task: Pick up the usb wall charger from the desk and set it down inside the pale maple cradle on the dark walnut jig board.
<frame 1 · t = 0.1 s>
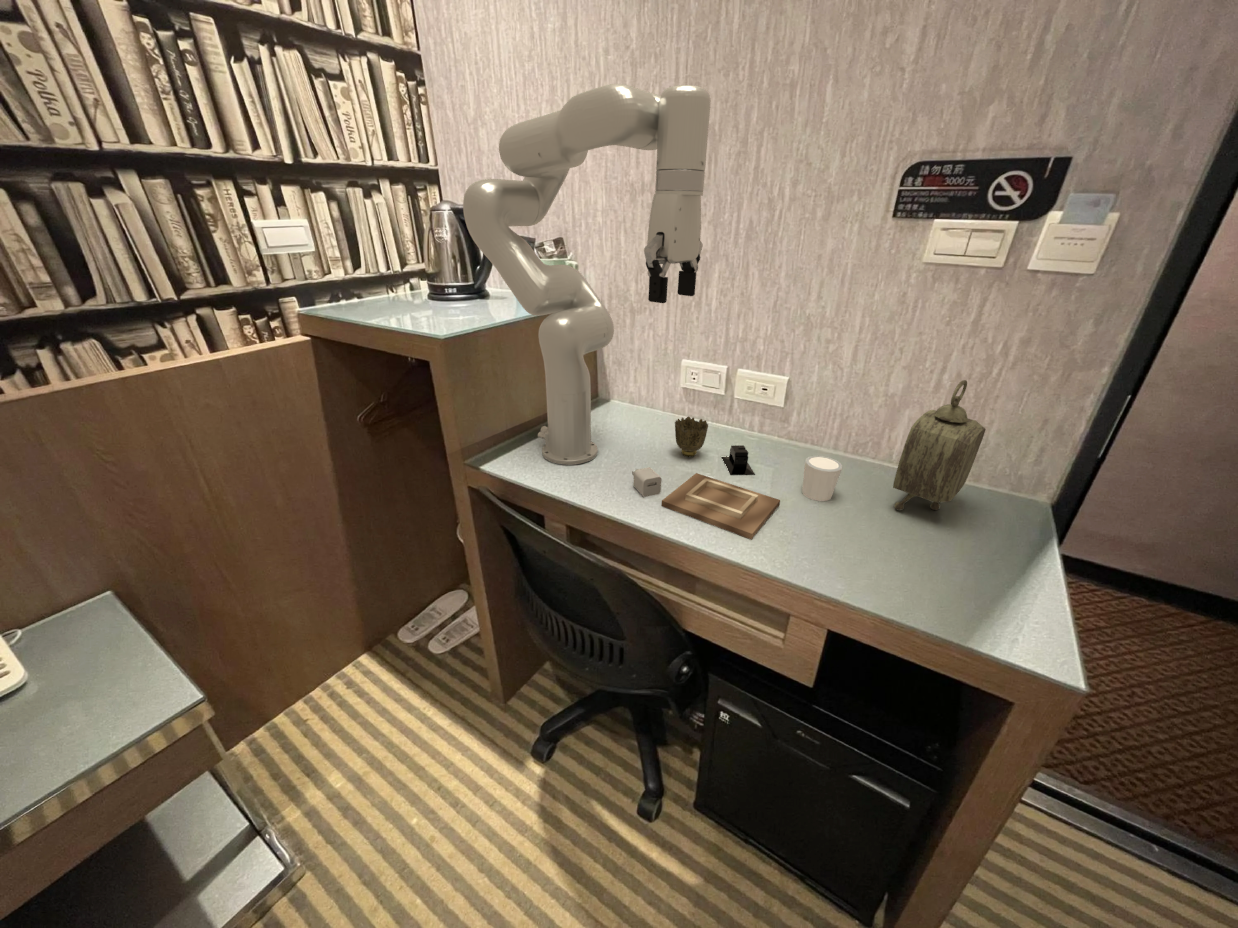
hand: (672, 298, 87), 37 cm above the table, tool pointing down, fingers open, 9 cm apart
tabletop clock: (922, 506, 98), on the table
beige short cylinder: (816, 494, 102), on the table
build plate: (736, 468, 112), on the table
cup: (688, 455, 116), on the table
usb wall charger: (643, 488, 102), on the table
jig board: (720, 505, 97), on the table
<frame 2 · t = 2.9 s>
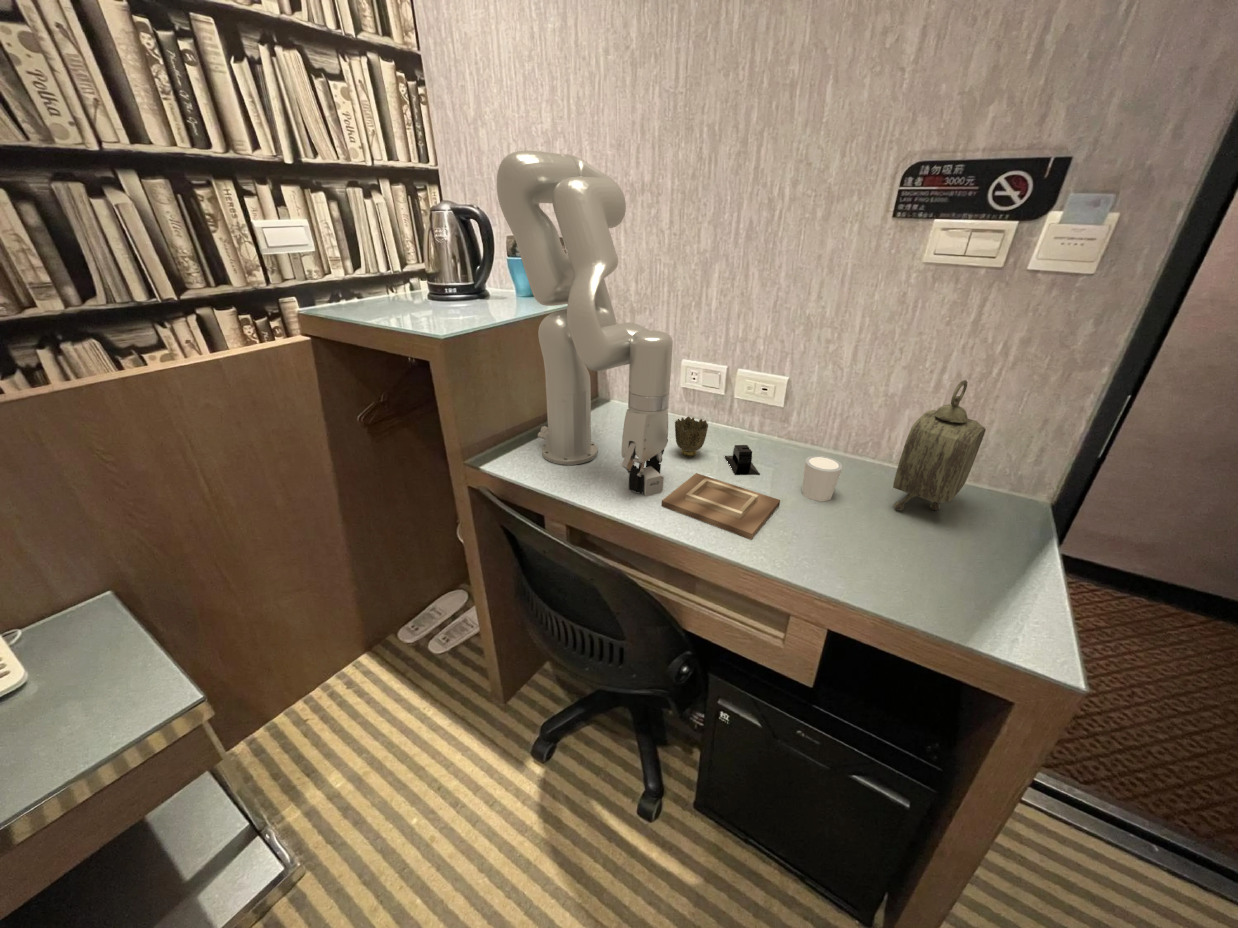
hand: (644, 484, 102), 1 cm above the table, tool pointing down, fingers closed on usb wall charger, 5 cm apart
usb wall charger: (645, 487, 103), on the table, touching gripper
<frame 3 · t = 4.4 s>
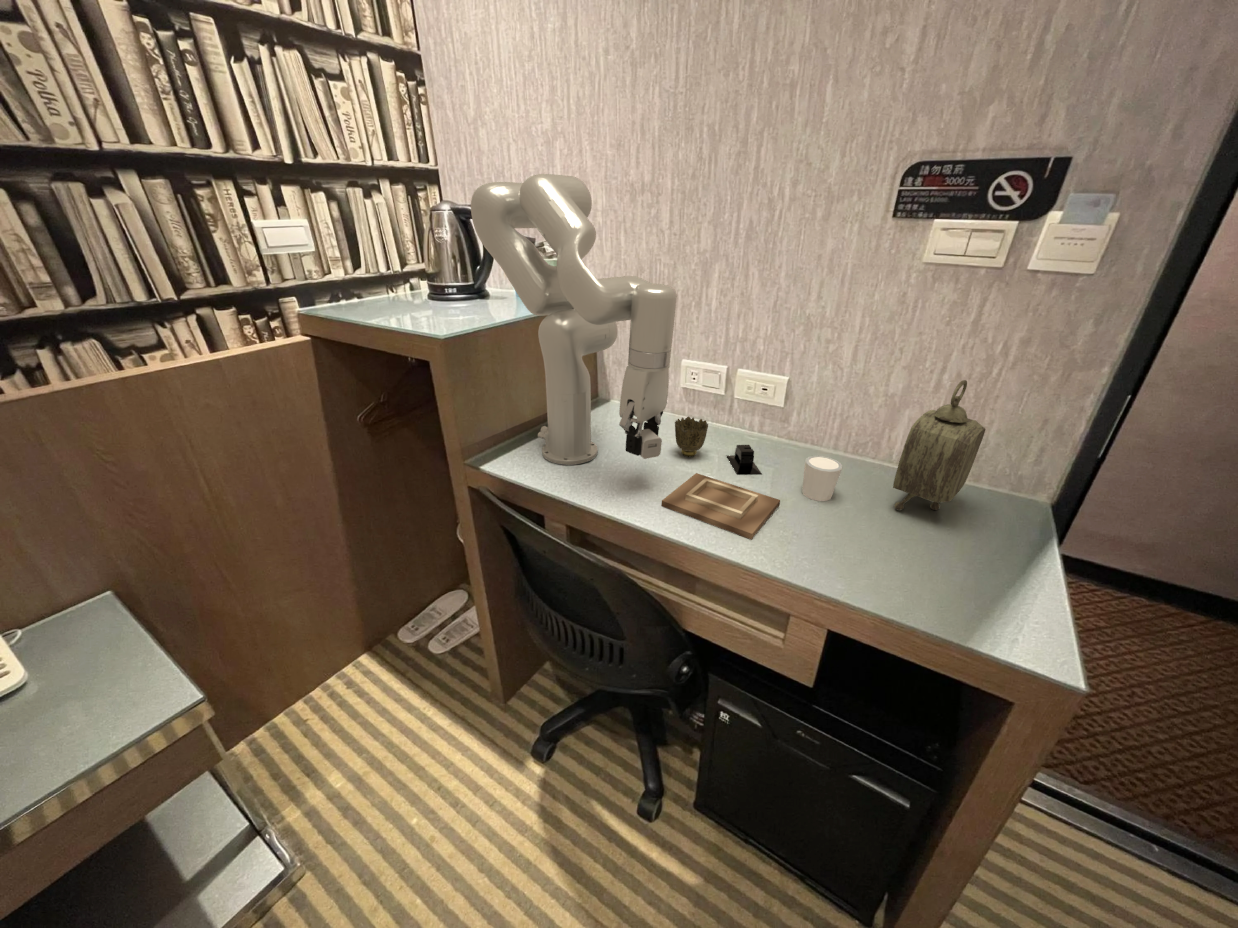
hand: (641, 447, 99), 9 cm above the table, tool pointing down, fingers closed on usb wall charger, 5 cm apart
usb wall charger: (642, 450, 100), point 8 cm above the table, touching gripper
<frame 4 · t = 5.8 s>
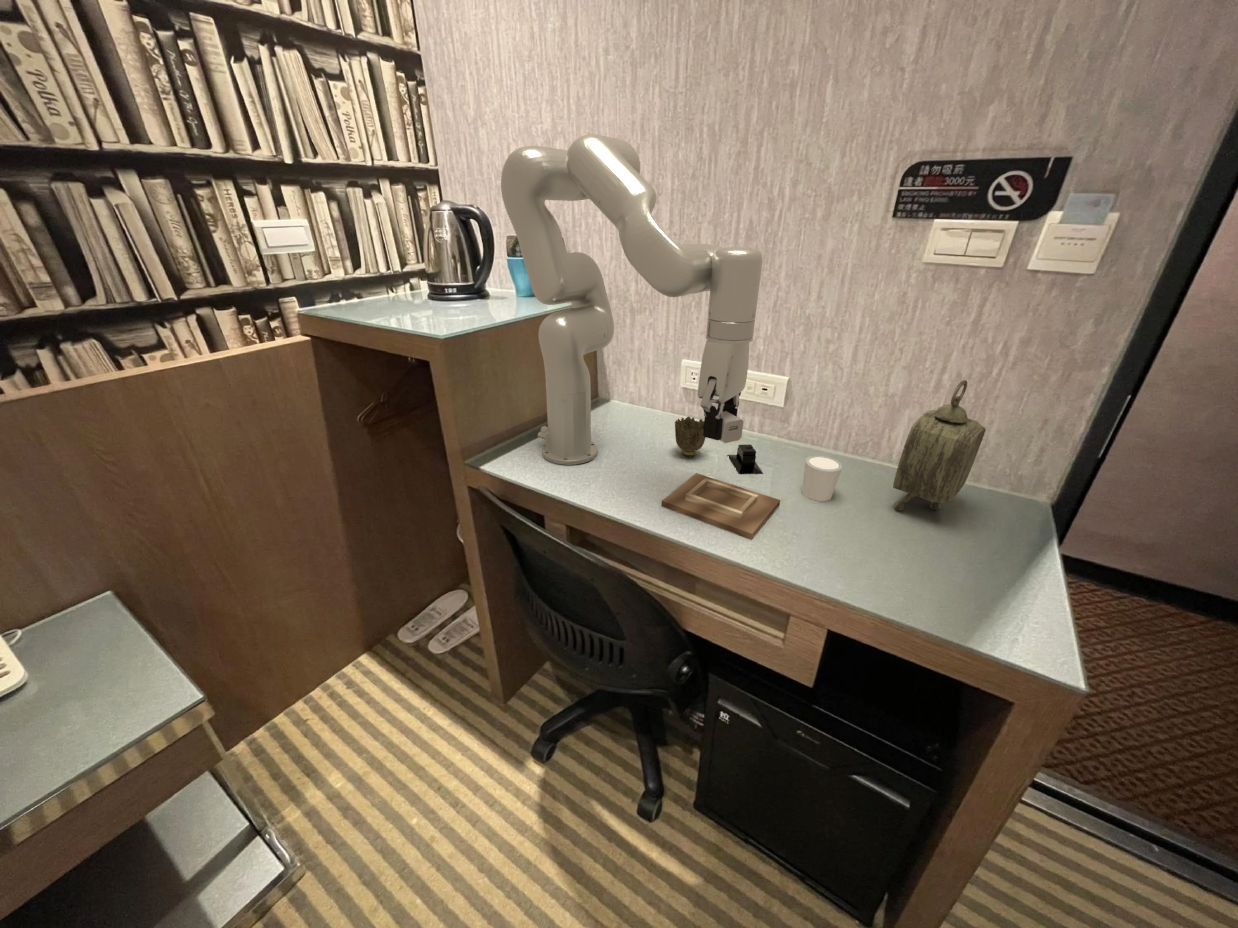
hand: (719, 431, 90), 15 cm above the table, tool pointing down, fingers closed on usb wall charger, 5 cm apart
usb wall charger: (720, 435, 91), point 14 cm above the table, touching gripper
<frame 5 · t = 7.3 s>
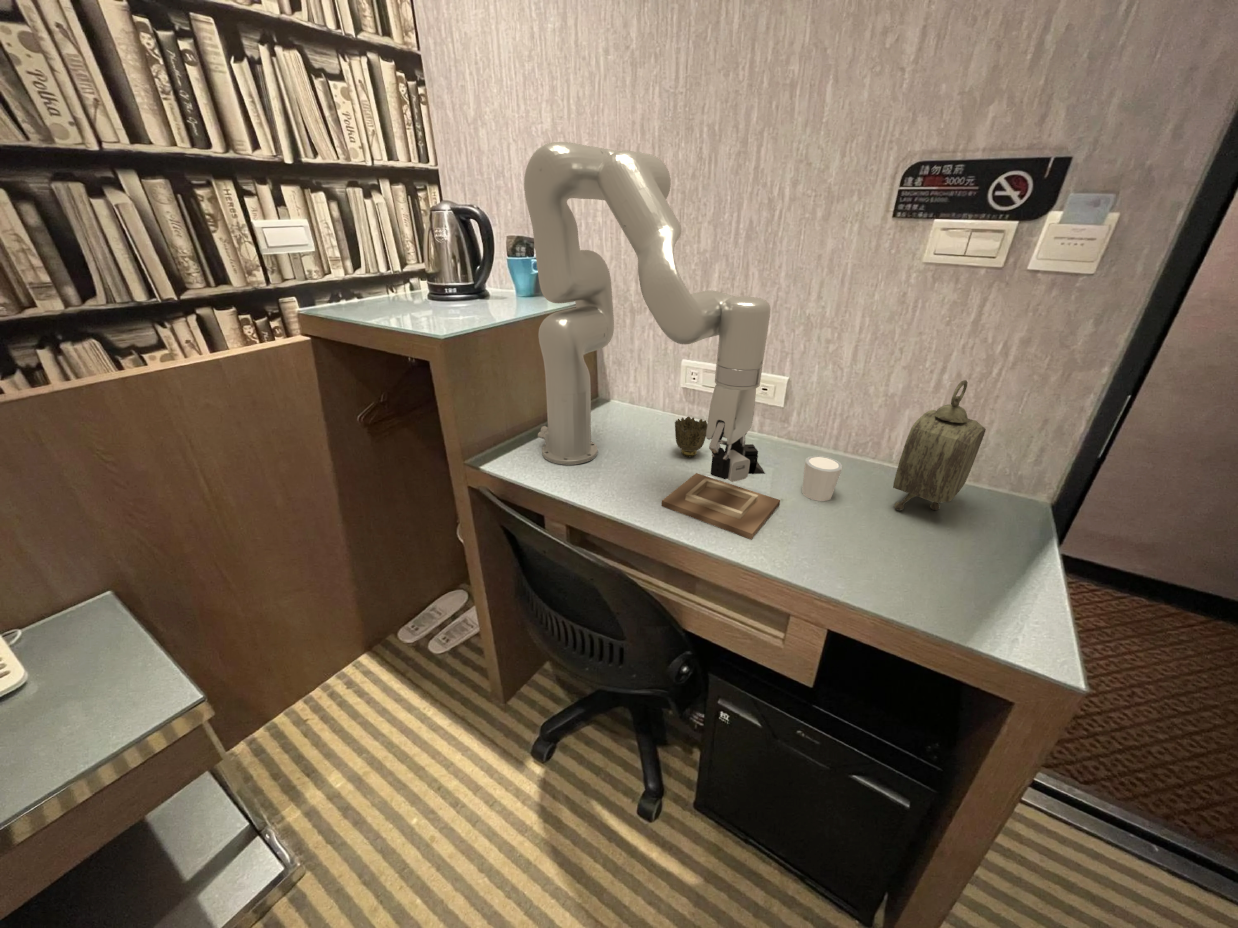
hand: (726, 469, 93), 8 cm above the table, tool pointing down, fingers closed on usb wall charger, 5 cm apart
usb wall charger: (726, 473, 94), point 7 cm above the table, touching gripper
when the fingers open (3 cm above the table, at t = 8.5 s): usb wall charger drops 1 cm, resting on jig board.
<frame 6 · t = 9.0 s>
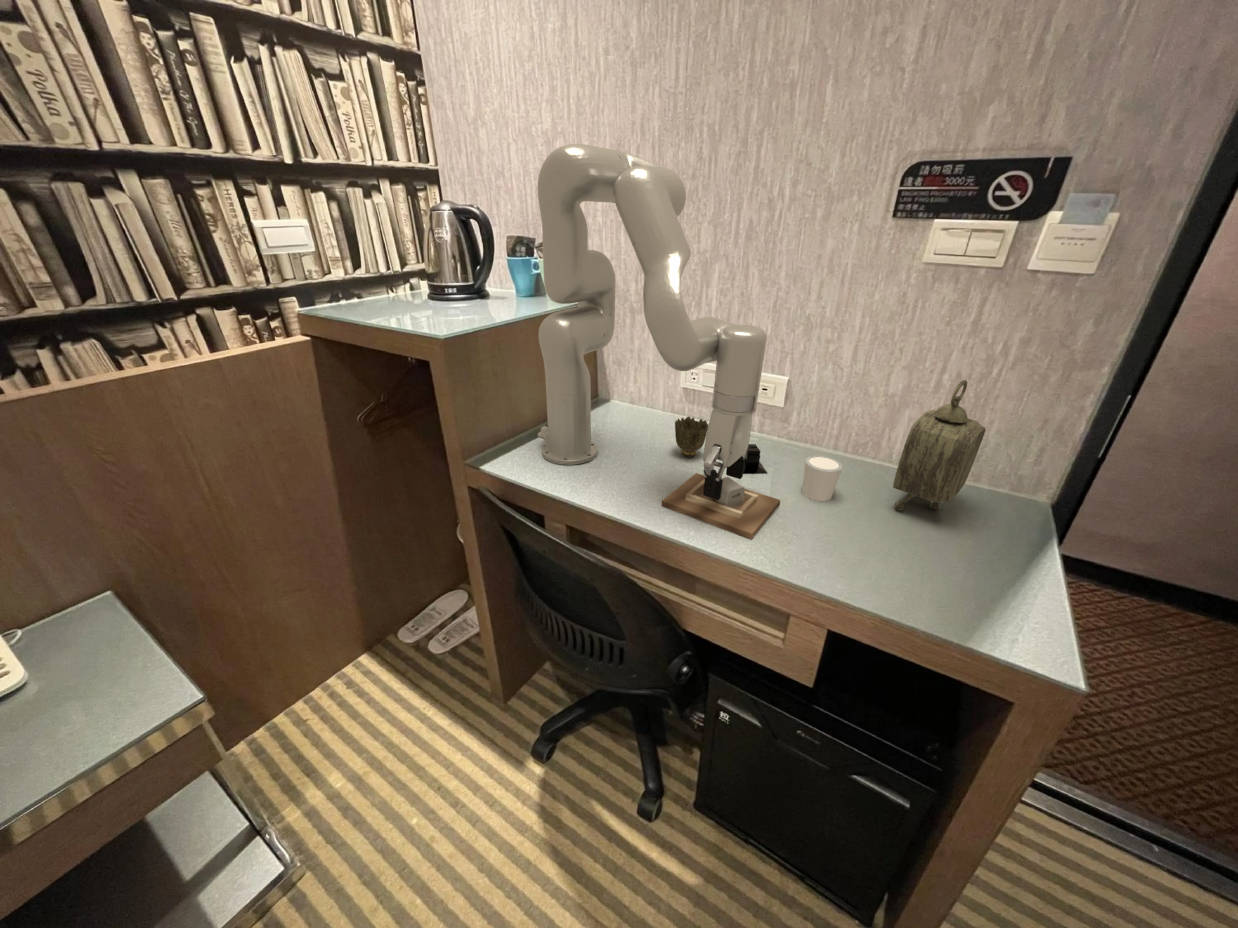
hand: (723, 486, 95), 4 cm above the table, tool pointing down, fingers open, 9 cm apart
usb wall charger: (722, 499, 97), point 1 cm above the table, touching jig board
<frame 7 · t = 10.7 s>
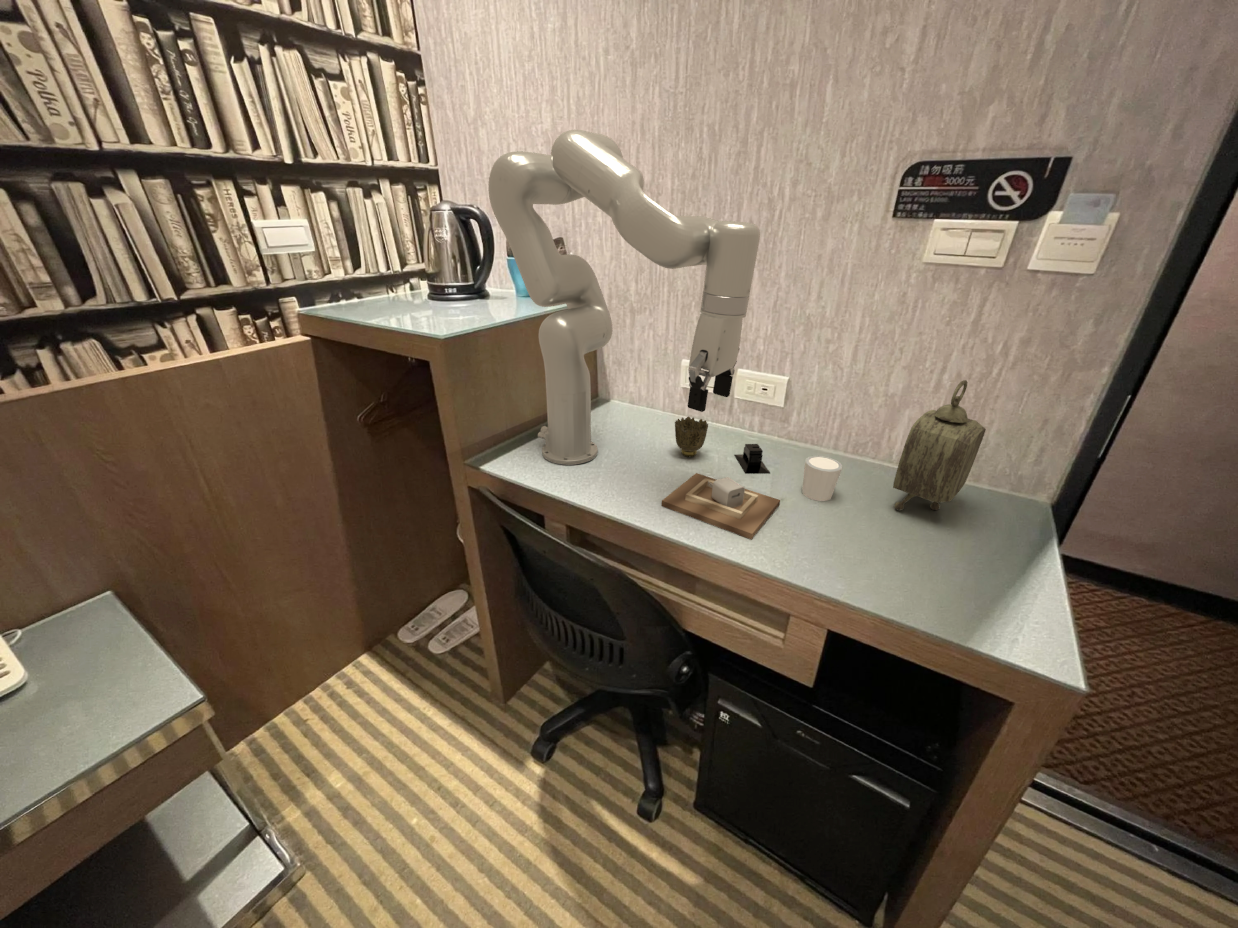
hand: (708, 402, 91), 19 cm above the table, tool pointing down, fingers open, 9 cm apart
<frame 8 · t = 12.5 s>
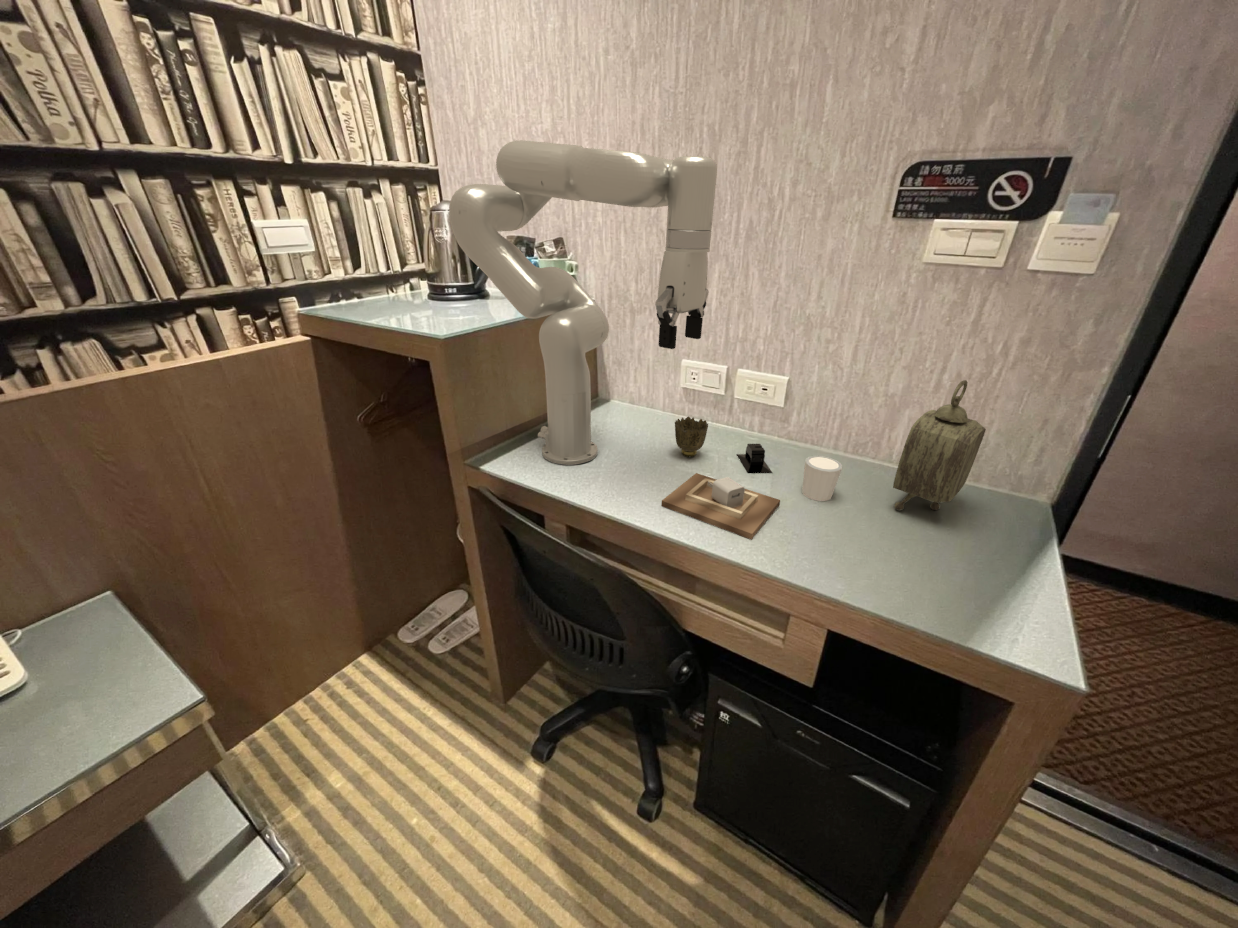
hand: (680, 342, 93), 28 cm above the table, tool pointing down, fingers open, 9 cm apart
at the end: usb wall charger 0.6 cm off-centre on the jig board, point 1.0 cm above the jig board's base; usb wall charger tilted 0°; the gripper is holding nothing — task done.
